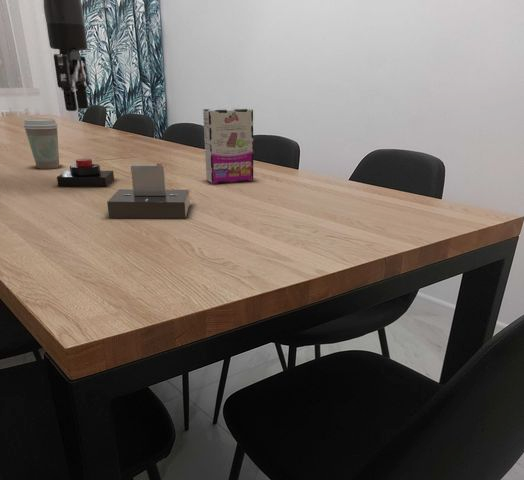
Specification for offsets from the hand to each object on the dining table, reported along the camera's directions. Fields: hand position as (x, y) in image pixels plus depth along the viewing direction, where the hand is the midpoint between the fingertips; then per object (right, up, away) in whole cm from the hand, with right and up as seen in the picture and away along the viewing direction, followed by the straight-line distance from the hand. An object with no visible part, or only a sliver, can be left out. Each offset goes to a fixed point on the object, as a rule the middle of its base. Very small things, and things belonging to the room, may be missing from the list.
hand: (77, 109), depth 111 cm
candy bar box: (+33, -11, +14) cm, 37 cm away
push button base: (-1, -13, +9) cm, 16 cm away
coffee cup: (-18, -3, +27) cm, 33 cm away
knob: (+19, -24, -15) cm, 34 cm away
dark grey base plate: (+19, -26, -14) cm, 36 cm away
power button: (-1, -10, +7) cm, 12 cm away
